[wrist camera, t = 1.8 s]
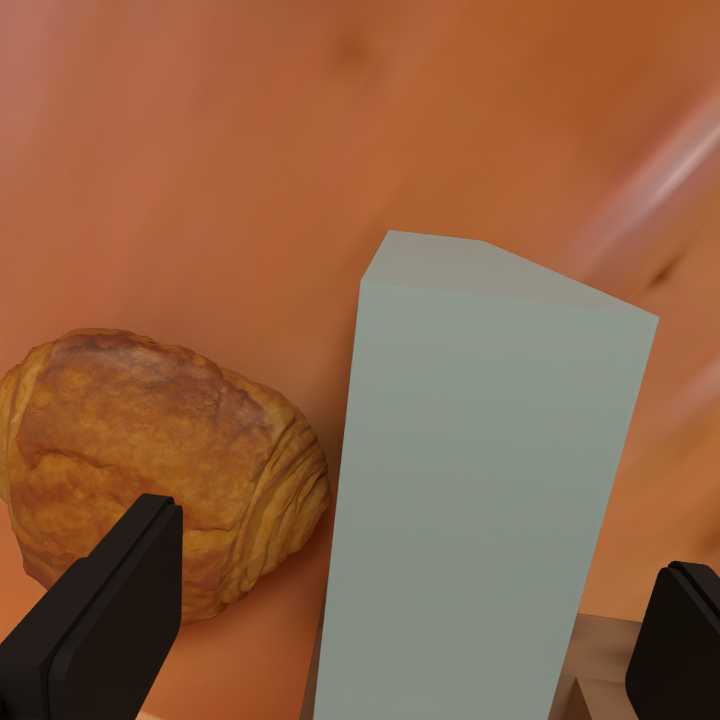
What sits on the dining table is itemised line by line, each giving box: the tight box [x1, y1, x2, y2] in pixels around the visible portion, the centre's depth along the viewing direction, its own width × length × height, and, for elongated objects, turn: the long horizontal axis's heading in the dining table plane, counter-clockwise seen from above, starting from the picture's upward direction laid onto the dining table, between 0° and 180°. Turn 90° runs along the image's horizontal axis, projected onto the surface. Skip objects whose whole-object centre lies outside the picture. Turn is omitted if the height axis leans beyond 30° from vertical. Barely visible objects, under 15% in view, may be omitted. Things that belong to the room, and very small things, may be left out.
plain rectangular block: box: [313, 230, 660, 720], centre depth 16 cm, size 12×4×16 cm, turn 174°
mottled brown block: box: [299, 579, 642, 720], centre depth 24 cm, size 18×4×8 cm, turn 84°
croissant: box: [0, 328, 333, 627], centre depth 24 cm, size 14×16×8 cm
